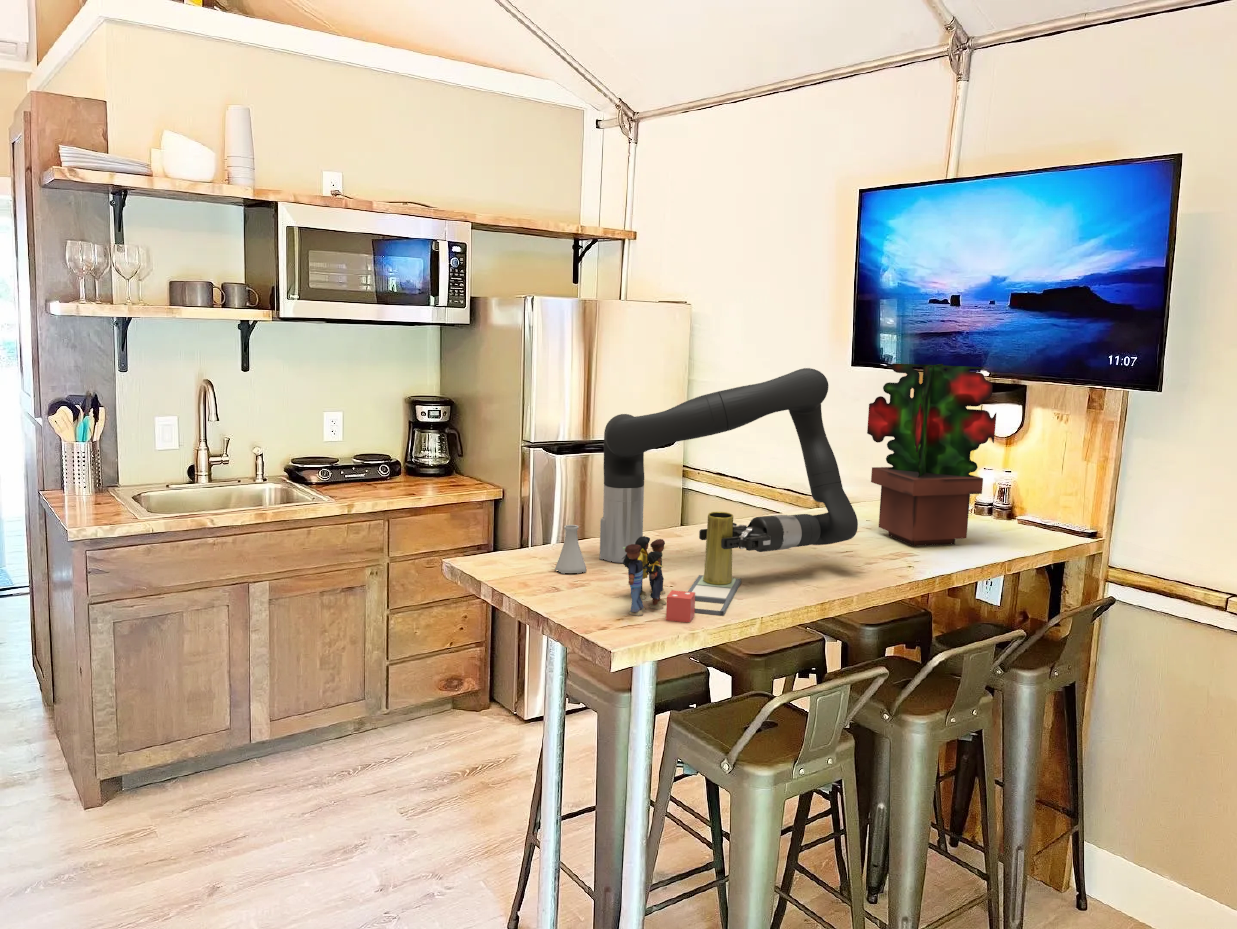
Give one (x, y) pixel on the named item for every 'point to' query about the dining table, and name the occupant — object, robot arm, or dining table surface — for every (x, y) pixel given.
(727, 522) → the vase
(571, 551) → the flask
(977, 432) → the potted plant
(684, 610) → the red die
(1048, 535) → the dining table surface
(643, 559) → the doll family
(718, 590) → the game board
